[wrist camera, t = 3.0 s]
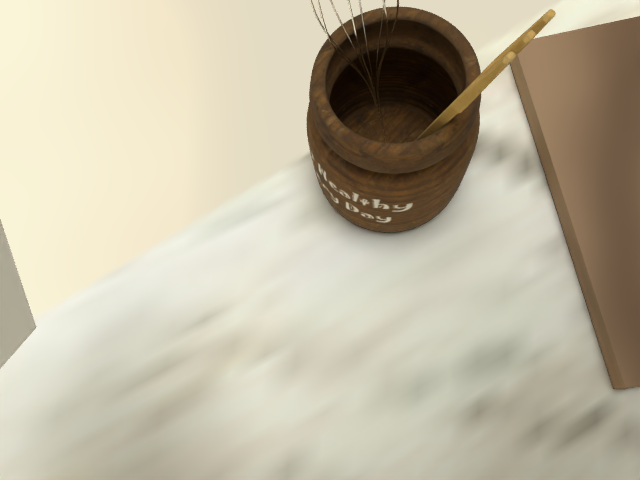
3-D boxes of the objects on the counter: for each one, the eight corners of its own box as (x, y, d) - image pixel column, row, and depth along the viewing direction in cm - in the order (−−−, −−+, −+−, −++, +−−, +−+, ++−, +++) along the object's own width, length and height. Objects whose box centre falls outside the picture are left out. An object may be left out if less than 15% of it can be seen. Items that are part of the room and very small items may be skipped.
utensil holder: (381, 78, 24) (390, -207, 13) (497, 167, 23) (628, -63, 11) (287, 173, 23) (205, -37, 12) (400, 272, 22) (432, 142, 10)
